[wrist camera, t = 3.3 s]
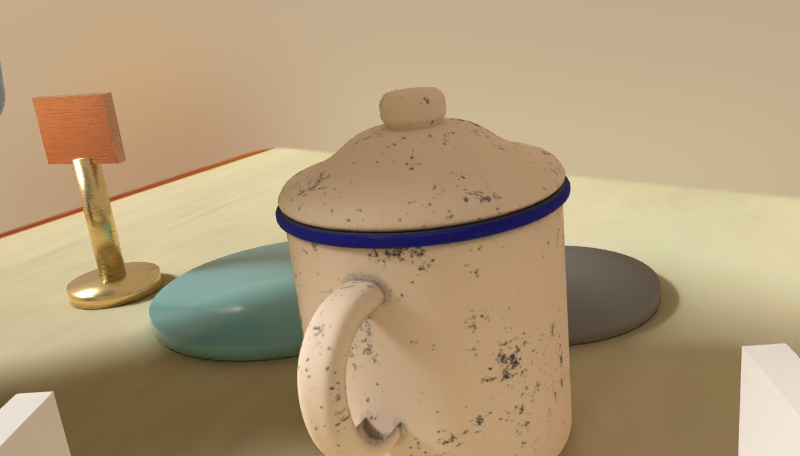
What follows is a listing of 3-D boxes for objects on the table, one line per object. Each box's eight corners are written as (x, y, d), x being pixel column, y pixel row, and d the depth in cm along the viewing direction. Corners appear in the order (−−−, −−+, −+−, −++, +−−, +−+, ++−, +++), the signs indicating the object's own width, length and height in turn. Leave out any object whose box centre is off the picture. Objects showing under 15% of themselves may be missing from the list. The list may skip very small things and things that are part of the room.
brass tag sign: (50, 305, 42) (-4, 105, 38) (115, 272, 46) (72, 90, 43) (118, 312, 40) (68, 101, 36) (180, 277, 44) (140, 85, 41)
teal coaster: (90, 344, 36) (86, 329, 36) (254, 246, 48) (252, 234, 48) (349, 376, 30) (347, 358, 30) (462, 255, 42) (460, 241, 42)
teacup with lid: (383, 354, 32) (349, 76, 28) (602, 379, 28) (593, 62, 25) (203, 546, 22) (115, 148, 18) (510, 628, 18) (472, 143, 14)
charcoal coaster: (410, 334, 33) (408, 318, 33) (478, 256, 42) (477, 242, 42) (646, 356, 29) (646, 337, 29) (668, 264, 38) (668, 249, 38)
